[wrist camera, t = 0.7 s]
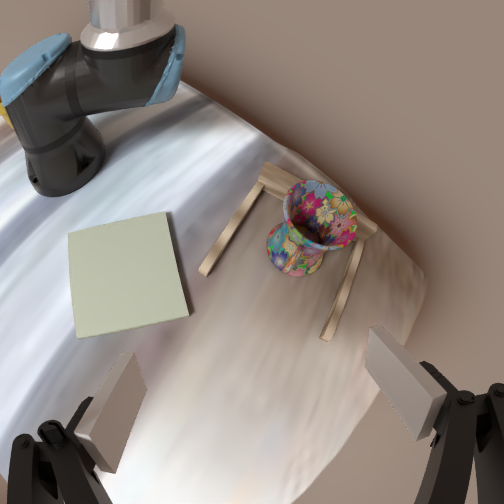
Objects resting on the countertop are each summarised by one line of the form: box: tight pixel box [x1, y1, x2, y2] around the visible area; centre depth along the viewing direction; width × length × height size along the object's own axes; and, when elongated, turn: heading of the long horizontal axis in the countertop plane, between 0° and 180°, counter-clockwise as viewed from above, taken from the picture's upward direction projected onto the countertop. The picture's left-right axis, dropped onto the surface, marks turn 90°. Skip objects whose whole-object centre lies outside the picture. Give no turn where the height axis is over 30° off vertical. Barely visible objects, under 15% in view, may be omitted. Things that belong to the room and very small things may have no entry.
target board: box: [68, 211, 189, 339], centre depth 34 cm, size 15×15×1 cm
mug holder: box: [199, 161, 378, 342], centre depth 38 cm, size 18×19×5 cm
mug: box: [267, 180, 357, 276], centre depth 35 cm, size 12×9×11 cm
